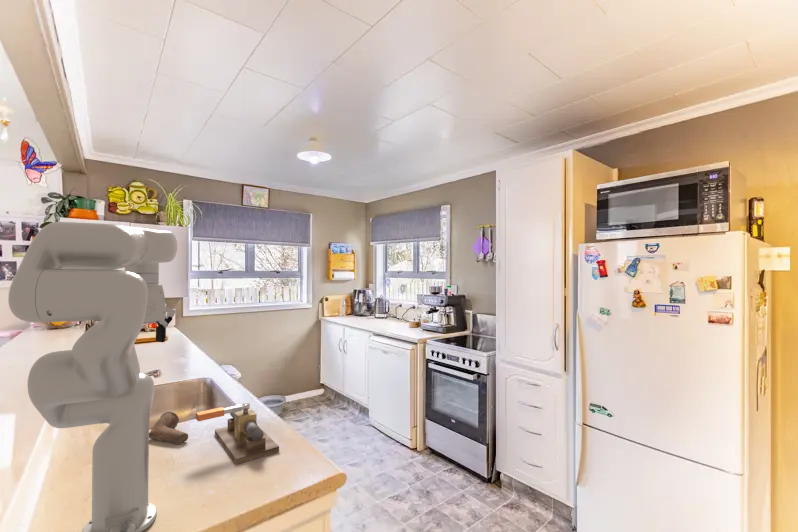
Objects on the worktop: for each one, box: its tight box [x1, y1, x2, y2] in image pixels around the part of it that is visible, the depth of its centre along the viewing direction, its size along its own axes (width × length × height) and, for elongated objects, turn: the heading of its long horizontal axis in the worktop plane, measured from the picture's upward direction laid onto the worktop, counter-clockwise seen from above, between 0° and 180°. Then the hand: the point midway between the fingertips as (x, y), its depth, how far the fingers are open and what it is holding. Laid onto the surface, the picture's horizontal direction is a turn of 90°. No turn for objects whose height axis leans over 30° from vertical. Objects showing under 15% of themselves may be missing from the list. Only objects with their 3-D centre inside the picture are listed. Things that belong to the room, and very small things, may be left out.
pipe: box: [149, 411, 189, 445], centre depth 121 cm, size 6×17×10 cm
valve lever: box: [195, 402, 251, 422], centre depth 113 cm, size 3×15×2 cm, turn 129°
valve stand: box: [214, 408, 280, 465], centre depth 117 cm, size 24×12×10 cm, turn 39°
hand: (141, 344), depth 100 cm, fingers open, 9 cm apart
